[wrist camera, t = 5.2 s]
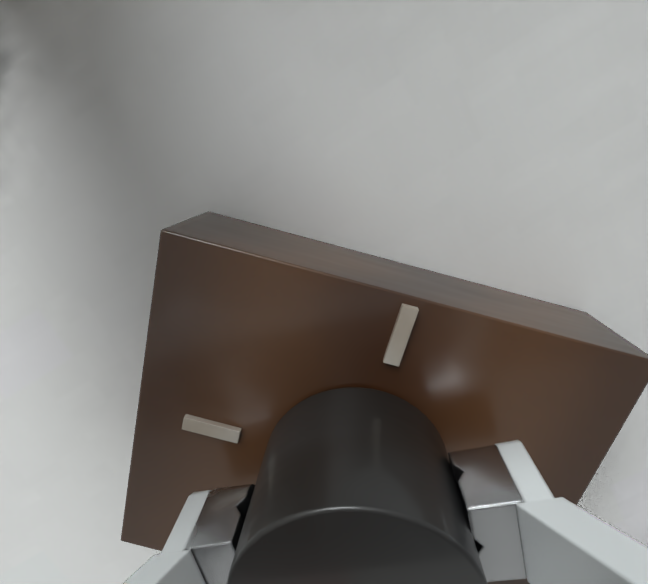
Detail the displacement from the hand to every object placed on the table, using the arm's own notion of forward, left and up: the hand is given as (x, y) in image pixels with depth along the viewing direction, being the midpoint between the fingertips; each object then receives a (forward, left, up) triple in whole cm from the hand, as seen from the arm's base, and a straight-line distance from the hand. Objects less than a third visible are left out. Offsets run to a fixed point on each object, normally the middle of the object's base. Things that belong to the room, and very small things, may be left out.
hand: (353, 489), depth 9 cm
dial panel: (0, 0, -4) cm, 4 cm away
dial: (0, 0, -1) cm, 1 cm away
